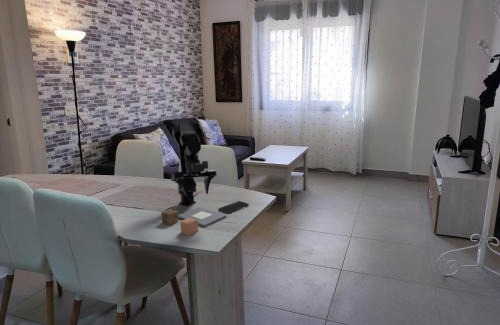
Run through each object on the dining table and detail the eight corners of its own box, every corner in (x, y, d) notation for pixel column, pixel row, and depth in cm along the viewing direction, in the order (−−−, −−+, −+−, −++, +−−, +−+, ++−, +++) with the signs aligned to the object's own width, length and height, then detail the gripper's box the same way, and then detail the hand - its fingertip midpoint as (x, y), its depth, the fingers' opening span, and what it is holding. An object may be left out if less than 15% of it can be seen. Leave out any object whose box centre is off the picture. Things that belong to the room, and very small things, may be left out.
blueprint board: (177, 217, 163) (177, 215, 162) (199, 208, 173) (199, 206, 173) (204, 227, 152) (204, 224, 151) (226, 217, 162) (226, 214, 162)
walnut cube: (162, 222, 158) (161, 212, 157) (171, 219, 162) (170, 208, 160) (169, 225, 155) (168, 214, 154) (178, 221, 159) (177, 211, 157)
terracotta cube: (181, 232, 147) (180, 221, 146) (190, 228, 151) (189, 217, 150) (189, 235, 144) (188, 224, 143) (198, 231, 148) (197, 220, 147)
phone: (217, 208, 171) (238, 200, 181) (217, 211, 171) (238, 202, 182) (228, 212, 166) (250, 204, 176) (228, 214, 166) (250, 206, 177)
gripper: (175, 155, 143) (180, 192, 139) (218, 153, 151) (223, 188, 147) (169, 163, 152) (173, 198, 148) (209, 161, 161) (214, 194, 157)
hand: (196, 194), depth 150 cm, fingers open, 9 cm apart
